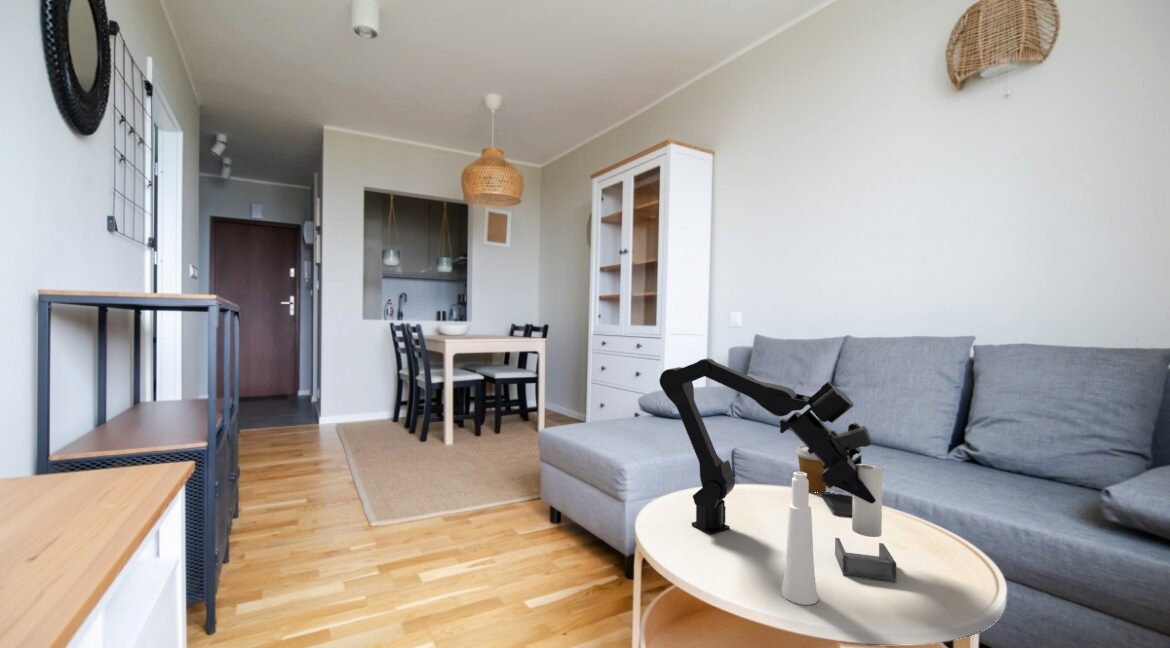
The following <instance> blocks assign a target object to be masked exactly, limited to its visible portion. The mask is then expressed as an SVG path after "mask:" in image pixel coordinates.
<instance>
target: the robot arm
mask: <svg viewBox="0 0 1170 648" xmlns="http://www.w3.org/2000/svg"><path fill="white" fill-rule="evenodd" d="M704 377H706V378H708V379H710V380H712V381H714V382H716V383H719V384H721V385H723V386H725V387H727V388H730V389H731V390H733V391H735V392H738V393H740V394H742V395H745V396H747V397H749V398H751V399H752V400H753V401H754V402H756V403H757V404H758V405H759V406H760V407H761V408H763V409H765V410H766V411H768V413H771V414H772V415H774V416H776V417H784V416H788V415H789V414H791V413H792V412H794V413H793V414H791V416H790V417H788V418H787V419H786V418H785V419H784V418H782V419H780V420H779V424H780V427H779V428H780V429H779V432H780V434H784V433H785V432H786V431H787V430H789V429H790V431H791V432H793V434H794V435H795V436H796V438H798V439H799V440H800V441H801V442H802V443H803V444H804V445H806V446H807V447H808V448H809V449H808V450H807V451H808V452H809V453H810V454H812V453H813V454H814V455H815V456H816V457H817V458H818V459H819V460H820V461H821V462H822V463H823V466H822V467H823V468H824V469H825V470H824V472H823V474H822V481H823V482H824V484H825V485H826V488H828V489H832V487H834V488H838V489H839V490H842V491H845V492H847V493H848V494H851V495H852V496H853V495H855V496H857V497H859V498H861V499H863V500H865V501H867V502H869V503H871V504H872V503H874V502H875V501H876V499H875V498H874V496H873V495H872V493H871V492H870V491H869V489H868V488H867V487H866V485H865V484H864V482H863V481H862V480H861V478H860V477H859V466H855V464H863V463H862V460H863V455H862V454H860V453H861V452H862V449H861V447H863V448H865V447H866V448H867V447H869V446H871V445H872V444H873V443H872V442H873V439H872V437H871V434H869V430H868V429H867V427H866V426H864V425H862V426H860V425H859V424H858V422H854V423H850V424H848V428H847V431H844V432H842V433H837V432H836V431H835V430H834V429H833V430H832V429H828V427H826V426H825V425H824V424H823V423H826V422H829V423H831V424H833V423H834V422H836V421H837V420H838V419H840V418H841V417H842V416H843V415H844V414H845V413H846V412H847V413H848V411H849V410H850V409H852V408H853V407H855V405H854V402H853V401H852V400H851V399H850V398H849V397H848V395H846V393H844V391H841V390H840V389H839V388H838V387H836V386H834V385H833V384H832V383H830V382H829V381H827V382H825V383H824V384H823V385H822V386H821V387H820V389H818V390H817V391H816V392H815V393H814V394H813V395H812V396H811V395H805V394H800V393H796V391H795V390H793V389H792V388H790V387H787V386H785V385H784V386H783V385H779V384H776V383H771V382H764V381H761V380H758V379H755V378H753V377H750V376H749V375H745V374H744V373H741V372H739V371H737V370H735V369H733V368H730V367H728V366H726V365H724V364H721V363H719V362H717V361H715V360H714V359H712V358H709V357H708V358H702V359H699V360H698V361H696V362H694V363H692V364H689V365H686V366H684V367H680V366H677V367H674V368H673V367H672V368H669V369H665V370H663V371H662V373H661V374H660V377H659V379H658V381H659V385H660V388H661V389H662V390H663V393H664V394H665V396H666V397H667V398H668V399H669V400H670V402H672V404H673V405H674V406H675V407H676V409H677V412H678V414H679V416H680V419H681V421H682V423H683V426H684V428H685V432H686V434H687V437H688V438H689V441H690V444H691V446H692V448H693V451H694V453H695V455H696V458H697V460H698V464H699V478H700V482H701V483H700V484H701V488H700V489H699V490H698V491H696V492H695V493H694V494H693V495H692V500H693V501H694V502H693V503H694V505H696V506H695V510H696V511H695V513H696V514H695V521H693V522H691V526H693V527H695V528H697V529H699V530H701V531H703V532H705V533H706V534H708V535H712V534H713V535H714V534H717V533H719V532H723V531H726V530H730V526H729V525H727V524H726V505H725V503H726V502H725V500H724V499H726V497H727V496H728V494H730V493H731V492H732V491H733V490H734V487H735V486H736V485H735V484H736V481H735V477H736V476H737V475H736V474H735V472H734V471H733V469H732V467H731V463H730V461H729V460H728V459H727V460H725V461H723V460H722V459H721V458H720V457H719V456H718V454H717V452H716V449H715V446H714V444H713V442H712V439H711V436H710V435H709V433H708V430H707V427H706V425H705V423H704V421H703V419H702V416H701V413H700V411H699V409H698V406H697V404H696V401H695V394H694V393H695V392H694V391H695V390H694V389H695V388H694V387H695V386H694V383H693V382H694V381H697V380H699V379H701V378H704ZM806 406H809V407H808V408H807V409H806V410H804V412H802V413H800V412H799V411H801V410H803V409H804V408H805V407H806ZM822 422H823V423H822ZM856 454H857V455H858V456H857V457H855V455H856Z"/></svg>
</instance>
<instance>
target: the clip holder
mask: <svg viewBox="0 0 1170 648" xmlns="http://www.w3.org/2000/svg"><path fill="white" fill-rule="evenodd" d="M834 556H835V559H836V561H837V562H838V563H837V564H838V566H839V569H840V570H841V574H842V576H844V577H851V578H852V577H853V578H859V579H867V580H872V581H873V580H874V581H880V582H882V581H883V582H888V583H897V562H896V561H895V558H894V557H893V556H892V554H891V553H890V551H889V550H888V549H887V547H886V545H885V544H884V542H879V543H878V555H871V554H862V553H855V552H854V553H853V552H846V549H845V548H844V545H843V544H842V541H841V539H840V537H835V538H834Z"/></svg>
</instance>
